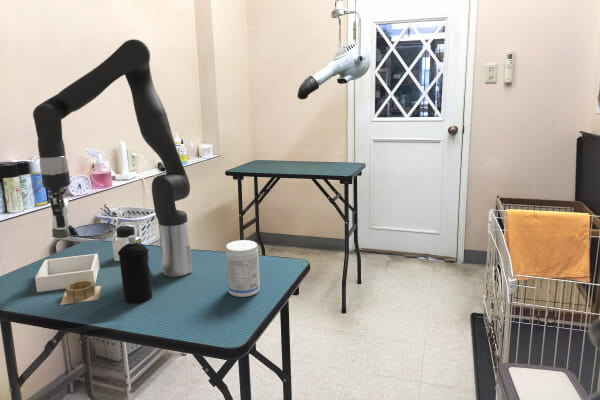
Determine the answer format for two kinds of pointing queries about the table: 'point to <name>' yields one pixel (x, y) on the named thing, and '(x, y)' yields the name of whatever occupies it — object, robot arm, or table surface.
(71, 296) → the socket base
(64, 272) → the bin
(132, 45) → the robot arm
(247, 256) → the supplement tub
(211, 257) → the table surface
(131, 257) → the aerosol can
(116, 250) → the medicine bottle
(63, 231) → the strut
